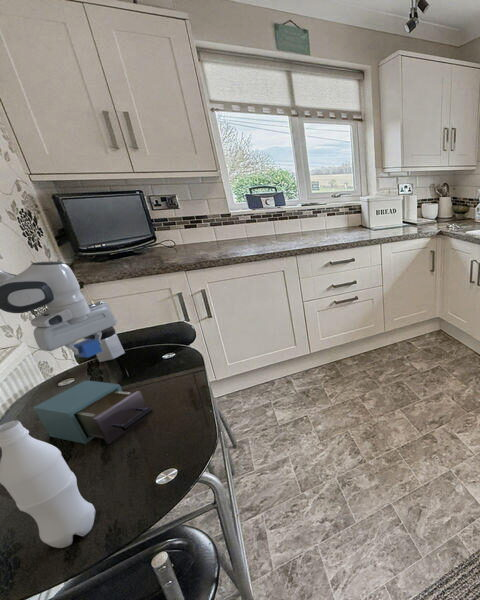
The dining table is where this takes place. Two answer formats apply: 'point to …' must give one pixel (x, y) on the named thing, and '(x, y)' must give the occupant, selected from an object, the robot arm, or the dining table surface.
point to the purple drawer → (112, 415)
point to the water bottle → (43, 486)
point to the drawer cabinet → (71, 409)
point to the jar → (108, 345)
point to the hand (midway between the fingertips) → (88, 349)
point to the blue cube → (88, 347)
